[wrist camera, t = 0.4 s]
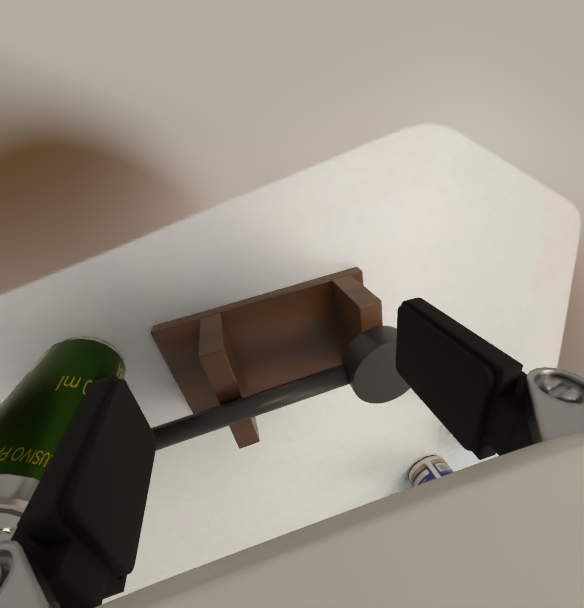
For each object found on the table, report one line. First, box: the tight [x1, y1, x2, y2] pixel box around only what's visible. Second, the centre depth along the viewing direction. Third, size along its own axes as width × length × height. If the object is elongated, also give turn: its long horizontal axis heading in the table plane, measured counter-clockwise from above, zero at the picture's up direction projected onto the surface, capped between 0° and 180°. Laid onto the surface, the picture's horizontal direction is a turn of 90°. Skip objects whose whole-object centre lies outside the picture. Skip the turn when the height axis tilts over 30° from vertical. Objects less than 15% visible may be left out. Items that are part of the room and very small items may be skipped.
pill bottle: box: [409, 456, 453, 487], centre depth 37 cm, size 6×6×10 cm
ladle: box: [151, 326, 411, 450], centre depth 19 cm, size 5×20×2 cm, turn 101°
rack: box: [151, 267, 383, 448], centre depth 23 cm, size 9×17×6 cm, turn 101°
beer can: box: [0, 337, 125, 542], centre depth 17 cm, size 5×5×12 cm
